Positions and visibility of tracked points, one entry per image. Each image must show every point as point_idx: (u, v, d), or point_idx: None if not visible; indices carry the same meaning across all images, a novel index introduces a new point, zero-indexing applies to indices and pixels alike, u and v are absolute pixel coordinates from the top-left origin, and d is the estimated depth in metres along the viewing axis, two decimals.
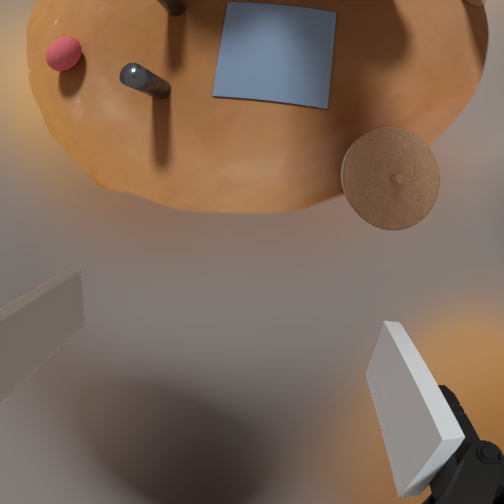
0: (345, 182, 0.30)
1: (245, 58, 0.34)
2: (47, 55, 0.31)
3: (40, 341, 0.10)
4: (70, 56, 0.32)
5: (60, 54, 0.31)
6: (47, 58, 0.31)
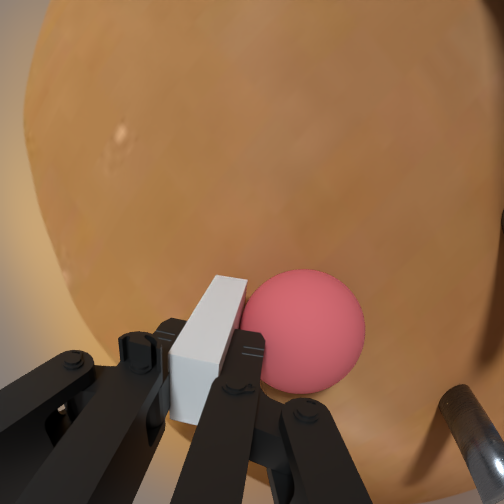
0: None
1: None
2: (330, 378, 0.12)
3: None
4: None
5: None
6: (324, 385, 0.12)
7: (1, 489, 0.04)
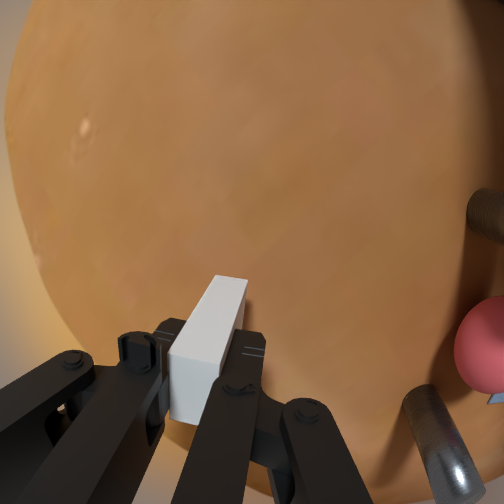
0: None
1: None
2: (490, 376, 0.11)
3: None
4: None
5: None
6: (485, 381, 0.12)
7: (1, 489, 0.04)
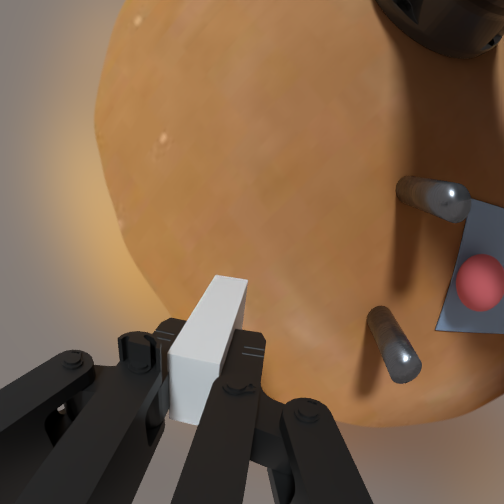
0: None
1: None
2: None
3: None
4: None
5: None
6: None
7: (1, 489, 0.04)
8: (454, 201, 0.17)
